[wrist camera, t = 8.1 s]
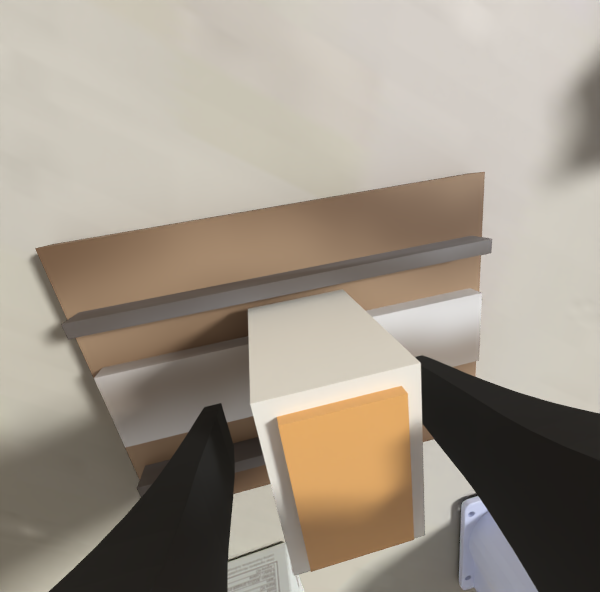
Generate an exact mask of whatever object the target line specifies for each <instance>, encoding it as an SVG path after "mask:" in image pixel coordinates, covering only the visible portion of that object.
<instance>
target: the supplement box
mask: <svg viewBox="0 0 600 592" xmlns="http://www.w3.org/2000/svg"><path fill="white" fill-rule="evenodd" d="M228 592H305V591H304V589H303V586H302V583H301V581H300V578H299V575H295V576H294V573H293V569H292V565H291V561H290V558H289V554H288V550H287V546H286V543H281V544H278V545H275V546H272V547H270V548H267V549H264V550H261V551H258V552H255V553H252V554H249V555H247V556H244V557H241V558H238V559H235V560H232V561H229V562H228Z"/></svg>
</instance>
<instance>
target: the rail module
mask: <svg viewBox="0 0 600 592" xmlns="http://www.w3.org/2000/svg"><path fill="white" fill-rule="evenodd" d="M248 336H249V375H250V405H251V409H252V413H253V417H254V421H255V425H256V429H257V432H258V436H259V440H260V444H261V448H262V452H263V456H264V460H265V464H266V468H267V472H268V475H269V479H270V483H271V487H272V491H273V495H274V499H275V503H276V507H277V511H278V515H279V518H280V522H281V526H282V530H283V534H284V538H285V542H286V546H287V550H288V554H289V558H290V561H291V565H292V569H293V573H294V576H295V575H299V574H302V573H305V572H308V571H311V572H312V571H315V570H318V569H321V568H325V567H328V566H331V565H334V564H337V563H341V562H344V561H347V560H350V559H354V558H357V557H360V556H363V555H366V554H370V553H373V552H376V551H379V550H382V549H386V548H389V547H392V546H395V545H399V544H402V543H405V542H408V541H411V540H414V539H415V538H418V537H421V536H424V535H425V516H424V476H423V435H422V395H421V363H420V362H419V361H418V360H417V359H416V358H415V357H414V356H413V355H412V354H411V353H410V352H409V351H408V350H407V349H406V348H404V347H403V346H402V345H401V344H400V343H399V342H398V341H397V340H396V339H395V338H394V337H393V336H392V335H391V334H390V333H389V332H388V331H386V330H385V329H384V328H383V327H382V326H381V325H380V324H379V323H378V322H377V321H376V320H375V319H374V318H373V317H372V316H371V315H369V314H368V313H367V312H366V311H365V310H364V309H363V308H362V307H361V306H360V305H359V304H358V303H357V302H356V301H355V300H354V299H353V298H351V297H350V296H349V295H348V294H347V293H346V292H345V291H344V290H343V289H342V290H337V291H332V292H327V293H322V294H318V295H313V296H308V297H303V298H298V299H293V300H289V301H284V302H279V303H274V304H269V305H264V306H259V307H255V308H250V309H248Z"/></svg>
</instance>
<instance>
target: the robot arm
mask: <svg viewBox="0 0 600 592" xmlns="http://www.w3.org/2000/svg"><path fill="white" fill-rule="evenodd" d="M415 358H416V359H417V360H418V361H419V362H420V363H421V395H422V424H423V425H424V426H425V428H426V429H427V430H428V432H429V433H430V434H431V435H432V437H433V438H434V439H435V441H436V442H437V443H438V444H439V446H440V447H441V448H442V449H443V451H444V452H445V453H446V454H447V456H448V457H449V458H450V459H451V461H452V462H453V463H454V464H455V466H456V467H457V468H458V469H459V471H460V472H461V473H462V474H463V476H464V477H465V478H466V480H467V481H468V482H469V484H470V485H471V486H472V488H473V489H474V490H475V492H476V493H477V495H478V496H476V497H473V498H469V499H467V500H465V501H464V502H463V503H462V505H461V531H460V561H459V585H460V586H461V588H462V589H463V590H468V589H471V588H475V589H476V591H477V592H600V414H599V413H594V412H590V411H585V410H581V409H577V408H572V407H568V406H564V405H560V404H556V403H552V402H548V401H545V400H541V399H538V398H535V397H531V396H528V395H525V394H521V393H518V392H515V391H512V390H509V389H507V388H504V387H501V386H498V385H495V384H493V383H490V382H487V381H485V380H482V379H480V378H477V377H475V376H472V375H470V374H467V373H465V372H463V371H460V370H458V369H455V368H453V367H451V366H448V365H446V364H444V363H441V362H439V361H437V360H434V359H432V358H429V357H426V356H423V355H421V356H417V357H415ZM234 480H235V458H234V445H233V441H232V438H231V434H230V431H229V428H228V424H227V421H226V417H225V414H224V411H223V407H222V404H221V403H219V404H215V405H211V406H206V407H204V408H203V410H202V411H201V413H200V414H199V416H198V417H197V419H196V421H195V422H194V424H193V426H192V427H191V429H190V430H189V432H188V434H187V435H186V437H185V438H184V440H183V441H182V443H181V444H180V446H179V447H178V449H177V450H176V452H175V453H174V455H173V456H172V458H171V459H170V461H169V462H168V463H167V465H166V466H165V467H164V469H163V470H162V472H161V473H160V474H159V476H158V477H157V478H156V480H155V481H154V482H153V484H152V485H151V486H150V488H149V489H148V490H147V491H146V493H145V494H144V495H143V496H142V497H141V498H140V500H139V501H138V502H137V503H136V504H135V506H134V507H133V508H132V509H131V510H130V511H129V512H128V514H127V515H126V516H125V517H124V518H123V519H122V520H121V521H120V522H119V523H118V524H117V525H116V526H115V527H114V528H113V530H112V531H111V532H110V533H109V534H108V535H107V536H106V537H105V538H104V539H103V540H102V541H101V542H100V543H99V544H98V545H97V546H96V547H95V548H94V549H93V550H92V551H91V552H90V553H89V554H88V555H87V556H86V557H85V558H84V559H83V560H82V561H81V562H80V563H79V564H78V565H77V566H76V567H75V568H74V569H73V570H72V571H71V572H69V573H68V574H67V575H66V576H65V577H64V578H63V579H62V580H61V581H60V582H59V583H58V584H57V585H55V586H54V587H53V588H52V589H51V590H50V591H49V592H228V548H229V536H230V525H231V514H232V503H233V492H234Z"/></svg>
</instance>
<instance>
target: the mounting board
mask: <svg viewBox="0 0 600 592" xmlns="http://www.w3.org/2000/svg"><path fill="white" fill-rule="evenodd" d="M484 176H485V172H479V173H469V174H463V175H457V176H451V177H445V178H440V179H434V180H428V181H422V182H416V183H410V184H404V185H398V186H393V187H387V188H381V189H375V190H369V191H363V192H357V193H351V194H346V195H340V196H334V197H328V198H322V199H316V200H310V201H304V202H299V203H293V204H287V205H281V206H275V207H269V208H263V209H257V210H252V211H246V212H240V213H234V214H228V215H222V216H216V217H210V218H204V219H199V220H193V221H187V222H181V223H175V224H169V225H163V226H157V227H152V228H146V229H140V230H134V231H128V232H122V233H116V234H110V235H105V236H99V237H93V238H87V239H81V240H75V241H69V242H63V243H58V244H52V245H48V246H44V247H39V248H35V249H36V251H37V254H38V256H39V258H40V260H41V262H42V265H43V267H44V269H45V271H46V274H47V276H48V278H49V280H50V282H51V285H52V287H53V289H54V291H55V293H56V296H57V298H58V300H59V302H60V305H61V307H62V309H63V311H64V313H65V316H66V318H67V321H66V322H64V323H63V324H61V325H62V327H63V329H64V331H65V333H66V336H67V338H68V339H72V338H76V340H77V342H78V344H79V347H80V349H81V351H82V353H83V356H84V358H85V360H86V362H87V364H88V367H89V369H90V371H91V373H92V376H93V378H94V380H95V382H96V384H97V387H98V389H99V391H100V393H101V395H102V398H103V400H104V402H105V404H106V407H107V409H108V411H109V413H110V415H111V418H112V420H113V422H114V424H115V426H116V429H117V431H118V433H119V435H120V438H121V440H122V442H123V444H124V446H125V449H126V451H127V453H128V455H129V458H130V460H131V462H132V464H133V466H134V469H135V471H136V473H137V475H138V477H139V480H140V481H139V484H138V486H137V490H138V492H139V494H140V496H141V497H142V496H143V495H144V494H145V493H146V491H147V490H148V489H149V488H150V486H151V485H152V484H153V482H154V481H155V480H156V478H157V477H158V476H159V474H160V473H161V472H162V470H163V469H164V467H165V466H166V465H167V463H168V462H169V461H170V459H171V458H172V456H173V455H174V453H175V452H176V450H177V449H178V447H179V446H180V444H181V443H182V441H183V440H184V438H185V437H186V435H187V434H188V432H189V430H190V429H191V427H192V426H193V424H194V422H195V421H196V419H197V417H198V416H199V414H200V413H201V411H202V410H203V408H204V407H206V406H211V405H215V404H219V403H221V404H222V407H223V411H224V414H225V417H226V421H227V424H228V428H229V431H230V434H231V438H232V441H233V445H234V458H235V480H234V492H233V494H235V493H239V492H242V491H246V490H250V489H253V488H257V487H261V486H264V485H268V484H271V483H270V479H269V475H268V472H267V468H266V464H265V460H264V456H263V452H262V448H261V444H260V440H259V436H258V432H257V429H256V425H255V421H254V417H253V413H252V409H251V405H250V375H249V336H248V309H250V308H255V307H259V306H264V305H269V304H274V303H279V302H284V301H289V300H293V299H298V298H303V297H308V296H313V295H318V294H322V293H327V292H332V291H337V290H342V289H343V290H344V291H345V292H346V293H347V294H348V295H349V296H350V297H351V298H353V299H354V300H355V301H356V302H357V303H358V304H359V305H360V306H361V307H362V308H363V309H364V310H365V311H366V312H367V313H368V314H369V315H371V316H372V317H373V318H374V319H375V320H376V321H377V322H378V323H379V324H380V325H381V326H382V327H383V328H384V329H385V330H386V331H388V332H389V333H390V334H391V335H392V336H393V337H394V338H395V339H396V340H397V341H398V342H399V343H400V344H401V345H402V346H403V347H404V348H406V349H407V350H408V351H409V352H410V353H411V354H412V355H413V356H414V357H417V356H421V355H423V356H426V357H429V358H432V359H434V360H437V361H439V362H441V363H444V364H446V365H448V366H451V367H453V368H455V369H458V370H460V371H463V372H465V373H467V374H470V375H472V376H475V372H476V361H479V348H480V327H481V307H482V293H481V292H479V285H480V263H481V255H484V254H489V253H491V248H492V239H489V238H483V237H482V220H483V198H484ZM422 435H423V442H425V441H429V440H432V439H434V438H433V437H432V435H431V434H430V433H429V432H428V430H427V429H426V428H425V426H424V425H423V424H422Z"/></svg>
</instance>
